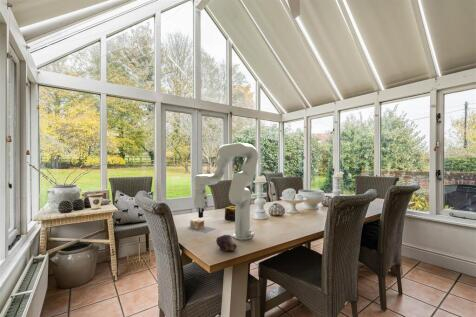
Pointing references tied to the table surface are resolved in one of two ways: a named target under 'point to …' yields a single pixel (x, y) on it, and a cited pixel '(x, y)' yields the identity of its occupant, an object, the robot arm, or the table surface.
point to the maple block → (197, 223)
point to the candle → (230, 213)
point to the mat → (203, 229)
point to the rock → (226, 243)
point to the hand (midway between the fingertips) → (200, 217)
